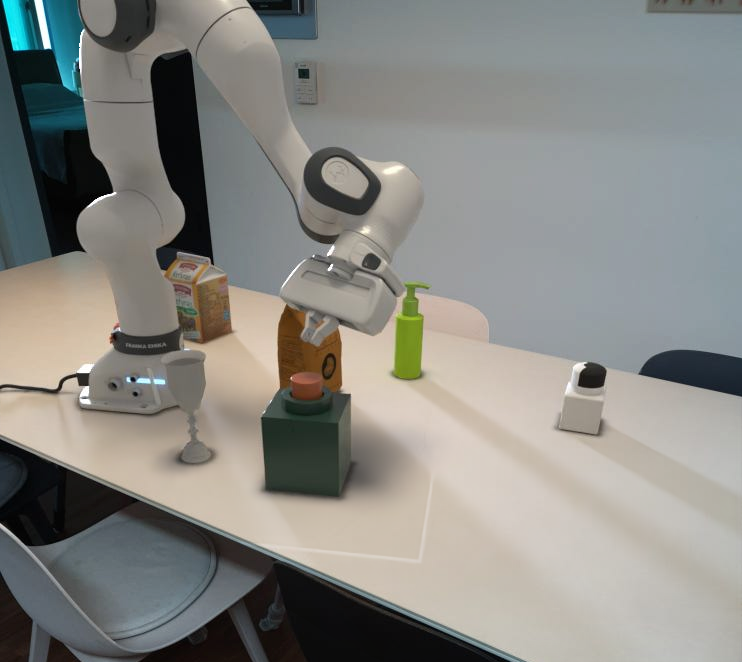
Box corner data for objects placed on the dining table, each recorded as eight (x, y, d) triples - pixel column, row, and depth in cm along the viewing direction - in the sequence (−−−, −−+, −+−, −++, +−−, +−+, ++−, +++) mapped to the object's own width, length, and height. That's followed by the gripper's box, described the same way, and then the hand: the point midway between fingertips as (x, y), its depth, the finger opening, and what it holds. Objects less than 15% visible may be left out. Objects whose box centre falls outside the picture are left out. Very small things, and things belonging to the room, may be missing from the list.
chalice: (195, 470, 121) (182, 369, 112) (166, 459, 124) (151, 360, 115) (225, 452, 126) (215, 355, 117) (196, 442, 129) (184, 346, 120)
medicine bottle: (599, 420, 141) (611, 361, 134) (597, 435, 135) (609, 375, 129) (562, 414, 143) (572, 356, 136) (558, 429, 137) (568, 369, 130)
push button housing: (265, 489, 116) (259, 404, 108) (282, 457, 125) (278, 376, 117) (339, 496, 115) (338, 410, 107) (350, 463, 124) (351, 382, 116)
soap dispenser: (423, 380, 156) (428, 288, 145) (391, 377, 157) (394, 285, 147) (426, 370, 161) (432, 280, 150) (396, 367, 162) (399, 278, 151)
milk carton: (232, 331, 181) (225, 253, 171) (202, 343, 173) (193, 262, 163) (201, 323, 186) (192, 247, 176) (170, 335, 178) (160, 256, 168)
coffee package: (349, 392, 150) (350, 286, 138) (309, 412, 141) (306, 300, 130) (314, 380, 155) (311, 277, 143) (273, 398, 146) (266, 290, 135)
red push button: (288, 400, 111) (287, 382, 109) (295, 388, 115) (295, 370, 113) (319, 402, 110) (318, 384, 108) (325, 390, 114) (324, 373, 113)
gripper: (299, 240, 113) (253, 314, 112) (394, 265, 101) (344, 348, 100) (320, 264, 118) (277, 336, 117) (414, 291, 106) (366, 370, 105)
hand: (308, 342), depth 108 cm, fingers closed
